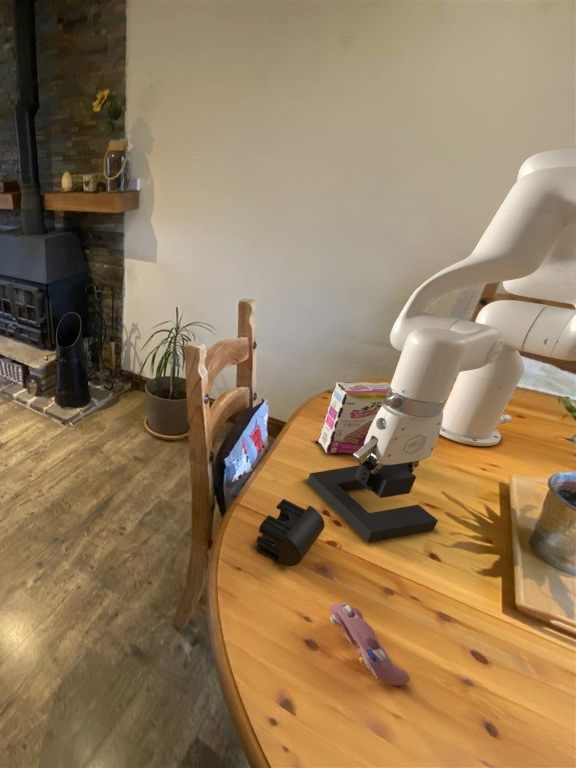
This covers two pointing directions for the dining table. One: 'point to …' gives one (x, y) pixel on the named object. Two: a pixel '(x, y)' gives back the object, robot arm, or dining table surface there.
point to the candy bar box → (351, 416)
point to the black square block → (391, 480)
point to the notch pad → (365, 523)
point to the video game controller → (367, 644)
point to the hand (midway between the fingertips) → (382, 482)
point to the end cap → (289, 533)
